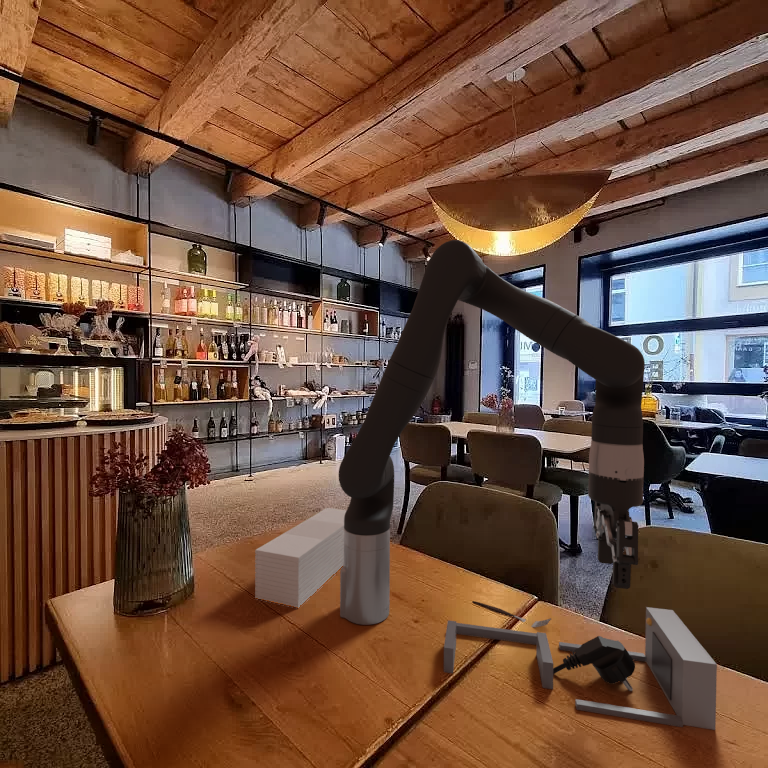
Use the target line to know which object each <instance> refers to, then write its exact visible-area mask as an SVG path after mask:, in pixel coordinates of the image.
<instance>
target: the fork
mask: <svg viewBox="0 0 768 768" xmlns="http://www.w3.org/2000/svg"><path fill="white" fill-rule="evenodd" d="M472 603H473V604H475V605H478V606H480V607H483V608H485V609H488V610H490V611H492V612H495V613H497V614H500V613H501V614H500V615H503V614H505V615H504V616H507V615H509V616H508V617H510V616H513V617H512V618H514V617H515V619H517V620H519V621H520V622H523V623H525V622H526V620H527V619H526V618H523V617H519V616H517V615H515V614H513V613H510V612H509V611H506V610H504V609H502V608H499V607H495V606H491V605H488V604H485V603H482V602H479V601H476V600H475V601H474V600H473V601H472ZM551 620H552V618H548V619H544V620H535V621H534V622H533V623H532V625H531V626H530V627H531V628H533V629H534V628H540V627H543V626H547V625H548V624H550V622H551Z"/></svg>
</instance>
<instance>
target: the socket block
mask: <svg viewBox="0 0 768 768" xmlns="http://www.w3.org/2000/svg"><path fill="white" fill-rule="evenodd" d="M581 646H582V644H577V643H570V642H563V641H559V642H558V648H559V650H560V651H566V652H567V651H568V652H573V651H574V653H575V649H577V648H579V647H581ZM644 650H645V651H644V652H645V653H643V652H638V651H629V650H627V652H628V653H629V654H630V656H631V657H632V659H633V661H639V662H644V663H645V662H646V664H647V666H648V667H649V669H650V671H651V672H652V674H653V676H654V678H655V681H656V682H657V683H658V685H659V687H660V689H661V690H662V692H663V694H664V695H665V697H666V699H667V702H668V703H669V704H670V706H671V707H672V709H673V711H674V714H671V713H670V714H669V713H664V712H658V711H652V710H645V709H638V708H634V707H628V706H621V705H614V704H609V703H602V702H597V701H596V702H595V701H590V700H582V699H578V698H575V699H574V700H575V703H574V705H575V708H576V710H577V711H584V712H589V713H596V714H601V715H606V716H613V717H620V718H625V719H631V720H637V721H643V722H648V723H656V724H662V725H666V726H673V727H679V728H680V727H681V728H683V727H684V726H689V727H695V728H701V729H707V730H713V731H716V726H717V725H716V722H717V720H716V715H717V681H718V680H717V679H718V678H717V674H718V673H717V671H718V670H717V669H718V664H717V662H715V661H714V659H713V658H712V657H711V655H710V654H709V653H708V652H707V650H706V649H705V648H704V647H703V646H702V644H701V643H700V642H699V641H698V639H697V638H696V637H695V636H694V634H693V633H692V632H691V631H690V629H689V628H688V627H687V625H685V624H684V622H683V621H682V619H681V618H680V617H679V616H678V614H677V613H676V612H675V611H674V610H673V609H667V608H666V609H665V608H657V607H648V606H645V647H644Z"/></svg>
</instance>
